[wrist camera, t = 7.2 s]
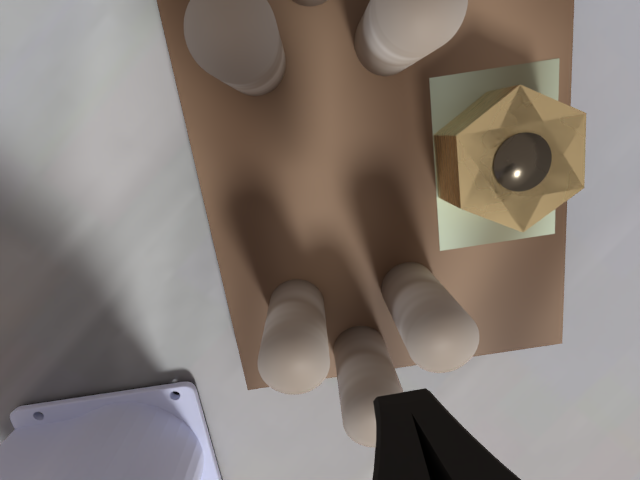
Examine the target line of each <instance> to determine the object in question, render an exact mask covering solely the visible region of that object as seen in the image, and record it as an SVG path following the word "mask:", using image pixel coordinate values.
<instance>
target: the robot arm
mask: <svg viewBox="0 0 640 480" xmlns="http://www.w3.org/2000/svg"><path fill="white" fill-rule="evenodd" d="M173 391H176V392H178V393H179V394H180V395H176V394H174V393H173ZM373 405H374V411H375V418H376V449H375V462H374V473H373V480H521V479H520V478H518V477H517V476H516V475H515V474H514V473H512V472H511V471H510V470H509V469H508V468H507V467H506V466H504V465H503V464H502V463H501V462H500V461H499V460H498V459H497V458H495V457H494V456H493V455H492V454H491V453H490V452H489V451H488V450H487V449H486V448H485V447H484V446H483V445H481V444H480V443H479V442H478V441H477V440H476V439H475V438H474V437H473V436H472V435H471V434H470V433H469V432H468V431H467V430H466V429H465V428H464V427H463V426H462V425H461V424H460V423H459V422H458V421H457V420H456V419H455V418H454V417H453V416H452V415H451V414H450V413H449V412H448V411H447V410H446V409H445V408H444V407H443V405H442V404H441V403H440V402H439V401H438V400H437V399H436V398H435V397H434V395H433V394H432V393H431V392H430V391H428V390H427V389H420V390H414V391H408V392H402V393H396V394H390V395H384V396H378V397H376V398H375V400H374V401H373ZM40 412H41V413H43V414H41V413H40ZM10 420H11V423H12V425H13V427H14V429H15V430H14V431H13V432H12V433H11V434H10V435H9V436H8V437H7V438H6V439H5V440H4V441H3V442H2V443H1V444H0V480H222V479H221V475H220V472H219V468H218V464H217V461H216V457H215V454H214V450H213V446H212V443H211V439H210V436H209V432H208V428H207V425H206V421H205V418H204V414H203V410H202V407H201V403H200V400H199V396H198V392H197V389H196V387H195V385H194V384H193V383H191V382H178V383H171V384H165V385H158V386H151V387H145V388H138V389H131V390H124V391H118V392H111V393H104V394H98V395H91V396H84V397H78V398H71V399H64V400H57V401H51V402H44V403H37V404H31V405H24V406H19V407H17V408H16V409H15V410H14V411H13V412H12V413H11V414H10Z"/></svg>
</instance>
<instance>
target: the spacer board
mask: <svg viewBox="0 0 640 480" xmlns="http://www.w3.org/2000/svg"><path fill="white" fill-rule="evenodd" d="M157 4H158V8H159V12H160V17H161V21H162V25H163V29H164V34H165V38H166V42H167V46H168V51H169V55H170V59H171V63H172V68H173V72H174V76H175V81H176V85H177V89H178V93H179V98H180V102H181V106H182V110H183V115H184V119H185V123H186V128H187V132H188V136H189V140H190V145H191V149H192V153H193V157H194V162H195V166H196V170H197V175H198V179H199V183H200V187H201V192H202V196H203V200H204V204H205V209H206V213H207V217H208V221H209V226H210V230H211V234H212V239H213V243H214V247H215V251H216V256H217V260H218V264H219V268H220V273H221V277H222V281H223V286H224V290H225V294H226V298H227V303H228V307H229V311H230V315H231V320H232V324H233V328H234V333H235V337H236V341H237V345H238V350H239V354H240V358H241V362H242V367H243V371H244V375H245V379H246V384H247V388H248V390H251V389H258V388H265V387H271V388H272V389H274V390H276V391H278V392H281V393H285V394H302V393H306V392H309V391H311V390H313V389H315V388H316V387H318V386H319V385H320V384H321V383H322V382H323V381H324V380H325V378H332V377H337V380H338V388H339V396H340V404H341V411H342V419H343V426H344V429H345V432H346V433H347V435H348V436H349V437H350V438H351V439H352V440H353V441H355V442H356V443H358V444H360V445H363V446H367V447H376V418H375V411H374V405H373V401H374V400H375V398H376V397H378V396H384V395H390V394H396V393H402V392H403V390H402V387H401V384H400V382H399V379H398V376H397V374H396V371H395V368H399V367H406V366H413V365H418V366H419V367H420V368H422V369H424V370H426V371H429V372H434V373H445V372H450V371H453V370H456V369H458V368H460V367H461V366H463V365H464V364H466V363H467V362H468V361H469V360H470V359H471V358H472V357H473V356H480V355H487V354H493V353H500V352H507V351H514V350H520V349H527V348H534V347H541V346H547V345H554V344H561V343H562V331H563V302H564V274H565V246H566V217H567V201H566V202H564V203H563V204H561V205H560V206H559V207H557V208H556V209H555V210H553V211H552V212H551V213H549V214H548V215H546V216H545V217H544V218H542V219H541V220H540V221H538V222H537V223H536V224H534V225H533V226H531V227H530V228H529V229H527V230H526V231H525V232H520V231H518V230H515V229H512V228H510V227H507V226H504V225H502V224H499V223H497V222H494V221H491V220H489V219H486V218H483V217H481V216H478V215H475V214H473V213H470V212H468V211H465V210H462V209H460V208H458V207H456V206H454V205H452V204H450V203H448V202H446V201H444V200H442V199H440V198H438V186H437V174H436V162H435V150H434V138H433V135H434V134H435V133H436V132H438V131H439V130H440V129H441V128H443V127H444V126H445V125H446V124H448V123H449V122H450V121H451V120H453V119H454V118H455V117H456V116H457V115H459V114H460V113H461V112H462V111H464V110H465V109H466V108H467V107H469V106H470V105H471V104H472V103H473V102H475V101H476V100H477V99H478V98H480V97H481V96H482V95H483V94H485V93H486V92H488V91H492V90H497V89H502V88H506V87H511V86H516V85H523V86H525V87H527V88H529V89H532V90H534V91H536V92H539V93H541V94H543V95H545V96H548V97H550V98H552V99H555V100H557V101H559V102H562V103H564V104H566V105H568V106H570V103H571V75H572V47H573V18H574V0H157Z"/></svg>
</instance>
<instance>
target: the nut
mask: <svg viewBox="0 0 640 480" xmlns="http://www.w3.org/2000/svg"><path fill="white" fill-rule="evenodd" d="M585 137H586V113H584V112H582V111H580V110H578V109H575V108H573V107H571V106H568V105H566V104H564V103H562V102H559V101H557V100H555V99H552V98H550V97H548V96H545V95H543V94H541V93H539V92H536V91H534V90H532V89H529V88H527V87H525V86H523V85H516V86H511V87H506V88H502V89H497V90H492V91H488V92H486V93H485V94H483V95H482V96H481V97H480V98H478V99H477V100H476V101H475V102H473V103H472V104H471V105H470V106H469V107H467V108H466V109H465V110H464V111H462V112H461V113H460V114H459V115H457V116H456V117H455V118H454V119H453V120H451V121H450V122H449V123H448V124H446V125H445V126H444V127H443V128H441V129H440V130H439V131H438V132H436V133H435V134H434V135H433V138H434V150H435V162H436V174H437V186H438V198H440V199H442V200H444V201H446V202H448V203H450V204H452V205H454V206H456V207H458V208H460V209H462V210H465V211H468V212H470V213H473V214H475V215H478V216H481V217H483V218H486V219H489V220H491V221H494V222H497V223H499V224H502V225H504V226H507V227H510V228H512V229H515V230H518V231H520V232H525V231H526V230H527V229H529V228H530V227H531V226H533V225H534V224H536V223H537V222H538V221H540V220H541V219H542V218H544V217H545V216H546V215H548V214H549V213H551V212H552V211H553V210H555V209H556V208H557V207H559V206H560V205H561V204H563V203H564V202H566V201H567V200H568V199H570V198H571V197H572V196H574V195H575V194H576V193H578V192H579V191H581V190H582V189H583V188H584V176H585Z"/></svg>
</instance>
